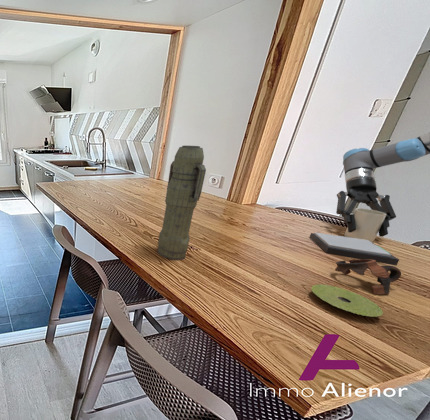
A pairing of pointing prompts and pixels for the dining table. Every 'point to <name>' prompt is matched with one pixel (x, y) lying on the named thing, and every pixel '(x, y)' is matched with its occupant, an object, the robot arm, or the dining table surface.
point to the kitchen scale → (352, 248)
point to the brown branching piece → (377, 271)
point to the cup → (366, 224)
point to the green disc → (347, 300)
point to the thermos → (181, 201)
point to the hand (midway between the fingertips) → (367, 232)
